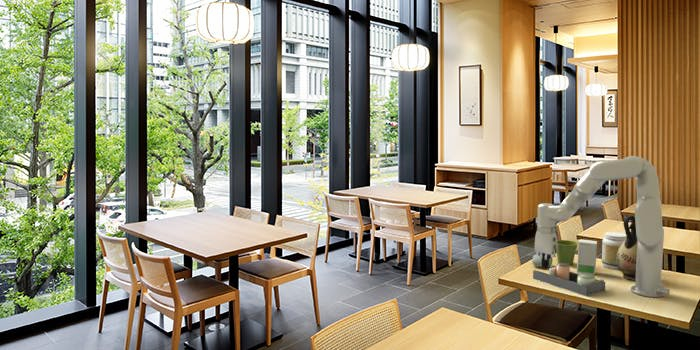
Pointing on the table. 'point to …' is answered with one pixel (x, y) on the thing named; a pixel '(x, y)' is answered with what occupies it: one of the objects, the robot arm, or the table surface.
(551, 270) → the pusher plate
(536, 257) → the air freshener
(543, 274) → the grey tray
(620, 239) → the supplement tub
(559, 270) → the terracotta jar
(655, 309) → the table surface
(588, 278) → the sage ceramic jar
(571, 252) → the plant pot
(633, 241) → the ceramic jug
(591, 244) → the skincare box
